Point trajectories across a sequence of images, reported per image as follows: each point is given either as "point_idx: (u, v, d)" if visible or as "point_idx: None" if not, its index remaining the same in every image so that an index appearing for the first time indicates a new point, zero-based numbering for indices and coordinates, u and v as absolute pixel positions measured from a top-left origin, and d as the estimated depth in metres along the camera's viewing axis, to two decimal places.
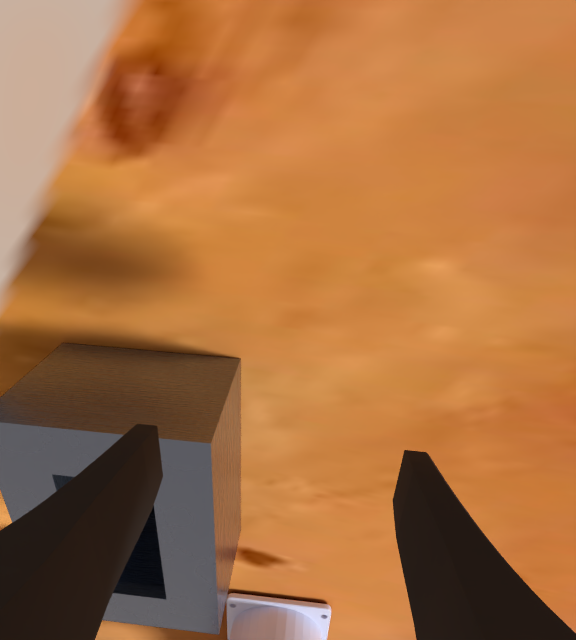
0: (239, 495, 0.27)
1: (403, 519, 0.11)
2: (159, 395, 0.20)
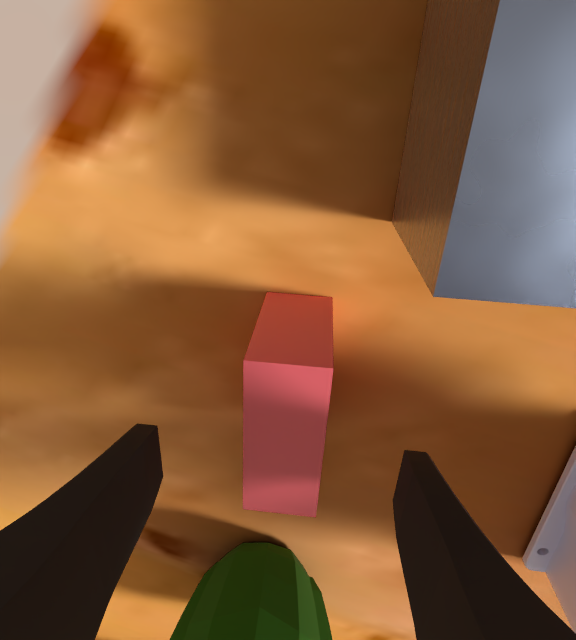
0: None
1: (403, 519, 0.11)
2: None
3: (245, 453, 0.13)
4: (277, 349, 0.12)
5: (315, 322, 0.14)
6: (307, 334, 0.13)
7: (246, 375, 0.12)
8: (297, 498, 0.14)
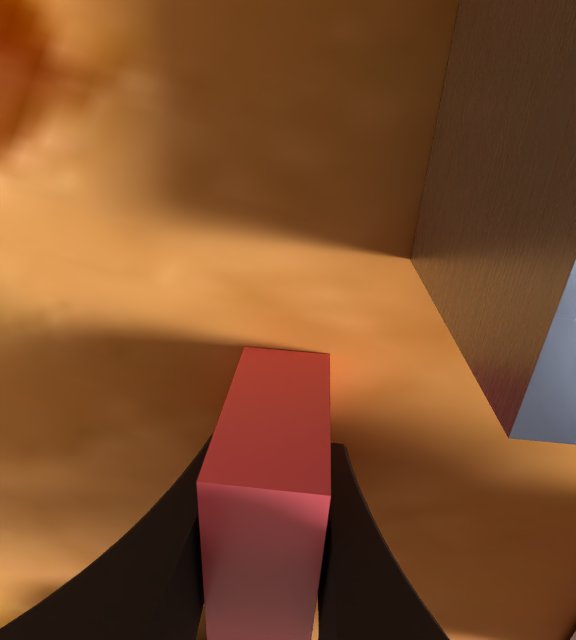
0: None
1: None
2: None
3: (207, 592, 0.09)
4: (249, 457, 0.08)
5: (307, 400, 0.10)
6: (294, 424, 0.09)
7: (202, 500, 0.08)
8: None
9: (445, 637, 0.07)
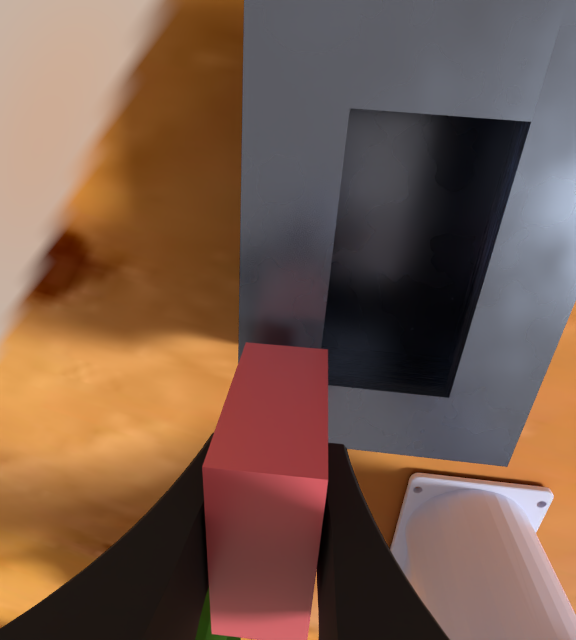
0: None
1: None
2: None
3: (211, 574, 0.10)
4: (250, 444, 0.09)
5: (305, 392, 0.11)
6: (294, 415, 0.10)
7: (207, 485, 0.09)
8: (281, 625, 0.11)
9: (445, 637, 0.07)
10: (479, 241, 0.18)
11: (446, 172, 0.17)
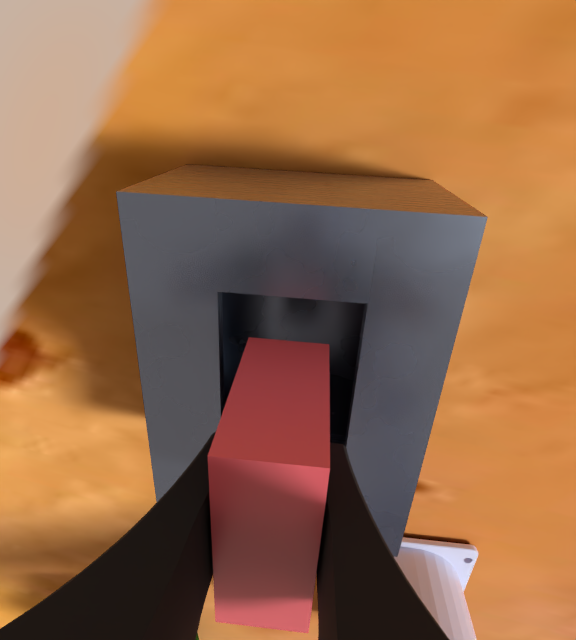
0: None
1: None
2: (360, 191, 0.14)
3: (215, 562, 0.10)
4: (254, 435, 0.09)
5: (307, 385, 0.11)
6: (296, 407, 0.10)
7: (212, 473, 0.09)
8: (284, 612, 0.11)
9: (445, 637, 0.07)
10: None
11: None
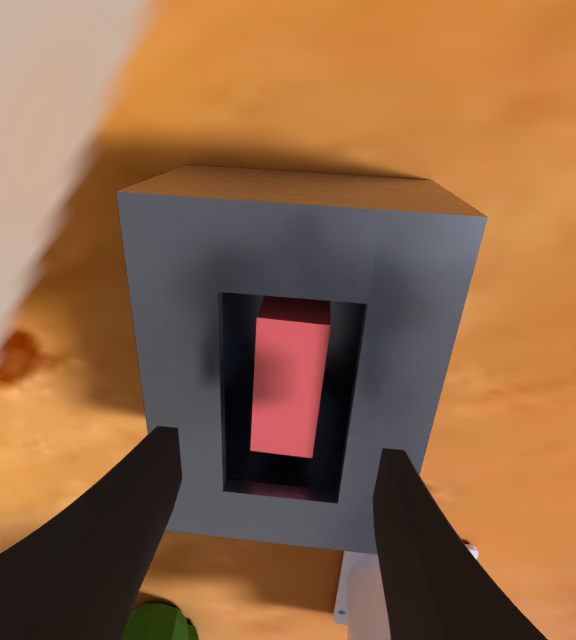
0: None
1: (380, 516, 0.11)
2: (360, 191, 0.14)
3: (254, 399, 0.16)
4: (283, 311, 0.15)
5: None
6: (309, 300, 0.16)
7: (258, 330, 0.14)
8: (297, 440, 0.16)
9: None
10: None
11: None
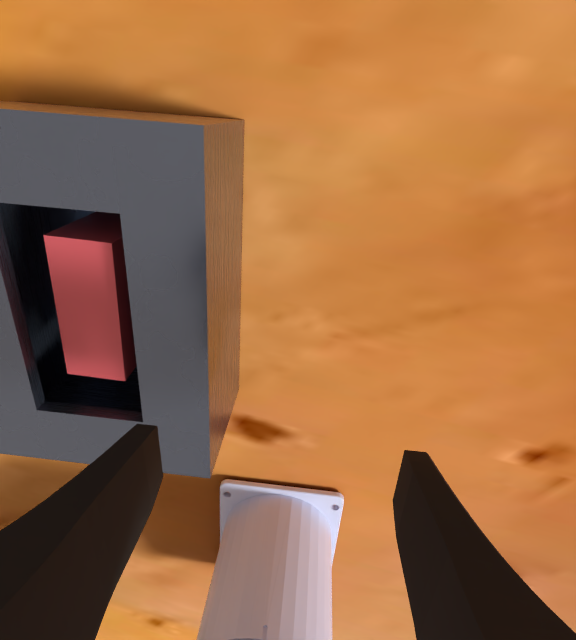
0: (238, 333, 0.22)
1: (403, 519, 0.11)
2: (135, 115, 0.14)
3: (60, 320, 0.17)
4: (77, 232, 0.16)
5: None
6: (113, 227, 0.17)
7: (48, 248, 0.15)
8: (107, 363, 0.17)
9: None
10: None
11: None
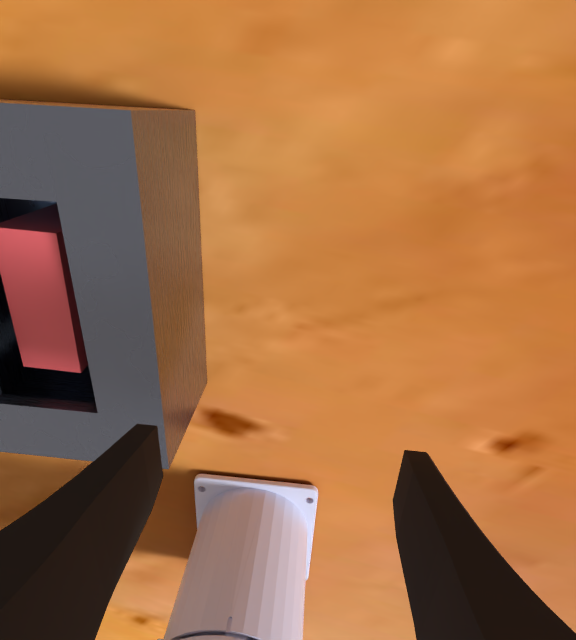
0: (202, 326, 0.22)
1: (403, 519, 0.11)
2: None
3: (12, 312, 0.17)
4: (24, 224, 0.16)
5: None
6: None
7: None
8: (62, 354, 0.17)
9: None
10: None
11: None
